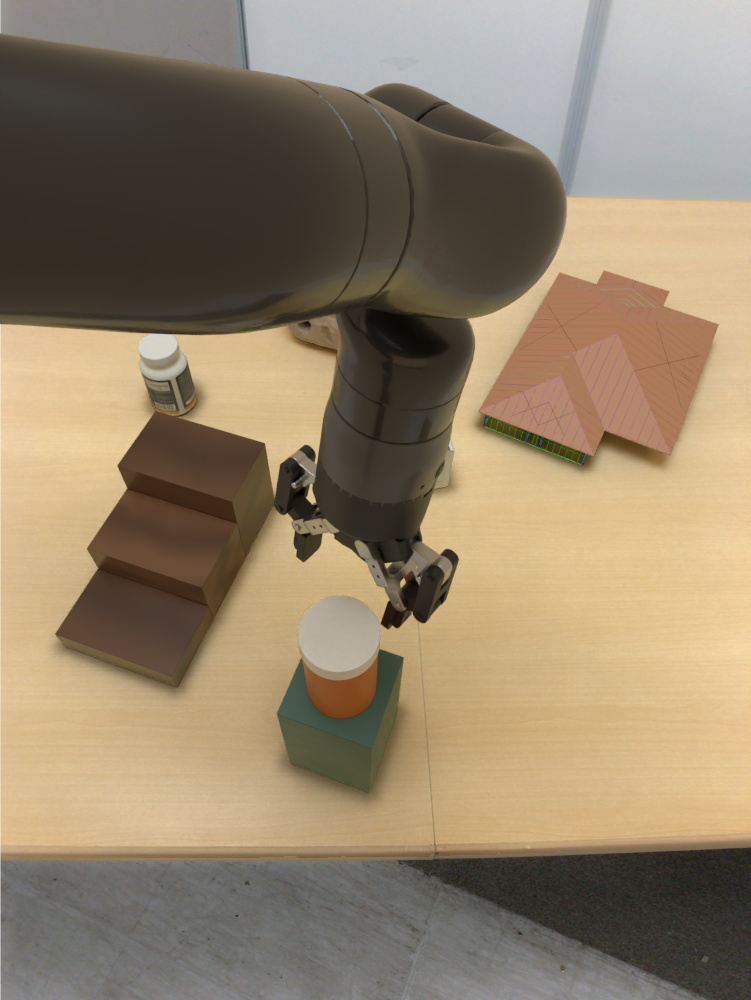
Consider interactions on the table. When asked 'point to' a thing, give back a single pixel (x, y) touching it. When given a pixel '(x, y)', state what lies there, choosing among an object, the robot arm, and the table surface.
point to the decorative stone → (318, 331)
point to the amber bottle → (340, 655)
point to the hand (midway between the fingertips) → (349, 585)
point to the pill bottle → (166, 374)
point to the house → (602, 366)
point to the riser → (170, 546)
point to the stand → (342, 728)
